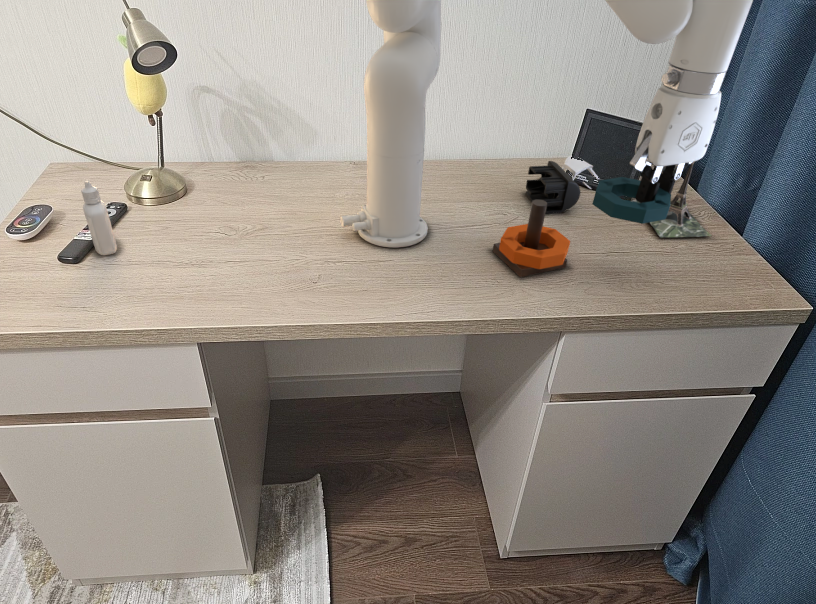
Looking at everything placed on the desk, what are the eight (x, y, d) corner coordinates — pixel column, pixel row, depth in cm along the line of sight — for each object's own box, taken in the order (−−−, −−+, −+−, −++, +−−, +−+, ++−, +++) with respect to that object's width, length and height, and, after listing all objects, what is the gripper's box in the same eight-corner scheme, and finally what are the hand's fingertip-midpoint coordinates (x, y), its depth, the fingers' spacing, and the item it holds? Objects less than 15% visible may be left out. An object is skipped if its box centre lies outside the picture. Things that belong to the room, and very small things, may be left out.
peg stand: (520, 277, 100) (531, 219, 94) (492, 251, 106) (500, 195, 100) (565, 267, 103) (579, 210, 96) (535, 242, 109) (547, 187, 103)
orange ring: (522, 272, 98) (524, 261, 97) (489, 241, 106) (491, 229, 105) (578, 261, 102) (581, 250, 100) (543, 231, 109) (545, 220, 108)
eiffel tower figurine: (629, 202, 123) (648, 136, 115) (678, 202, 124) (701, 137, 116) (659, 239, 112) (683, 169, 103) (713, 239, 112) (741, 169, 104)
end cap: (576, 213, 119) (584, 180, 114) (541, 215, 118) (548, 182, 113) (556, 191, 126) (563, 159, 122) (523, 193, 125) (529, 161, 121)
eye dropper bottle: (87, 256, 101) (65, 188, 94) (99, 239, 106) (79, 173, 98) (113, 256, 101) (94, 189, 94) (124, 240, 106) (107, 174, 98)
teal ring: (624, 227, 89) (629, 213, 88) (579, 195, 97) (583, 182, 96) (681, 216, 93) (686, 203, 91) (633, 187, 100) (637, 174, 99)
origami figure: (602, 196, 125) (608, 173, 122) (562, 196, 124) (567, 173, 121) (581, 172, 135) (586, 150, 132) (544, 172, 134) (548, 150, 131)
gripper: (667, 92, 79) (626, 220, 91) (756, 83, 85) (707, 205, 96) (628, 76, 85) (594, 198, 96) (714, 68, 90) (672, 185, 101)
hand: (651, 201), depth 96 cm, fingers closed on teal ring, 2 cm apart
